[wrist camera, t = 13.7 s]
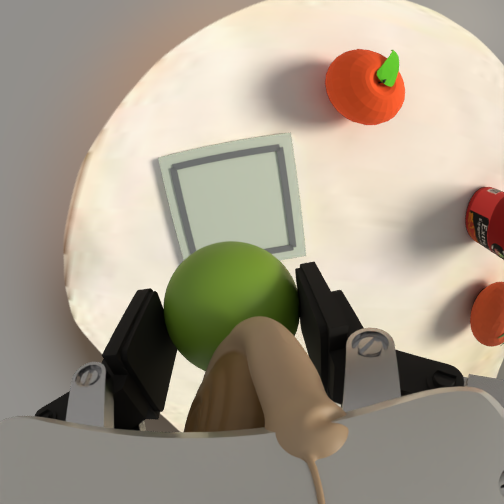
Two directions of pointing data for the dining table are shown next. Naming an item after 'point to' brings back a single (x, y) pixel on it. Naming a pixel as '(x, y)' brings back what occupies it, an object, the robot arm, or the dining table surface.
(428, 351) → the dining table surface
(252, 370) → the snail figurine
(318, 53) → the dining table surface
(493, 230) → the canned food
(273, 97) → the dining table surface
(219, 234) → the board
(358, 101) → the clementine
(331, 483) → the robot arm
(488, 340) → the tomato
